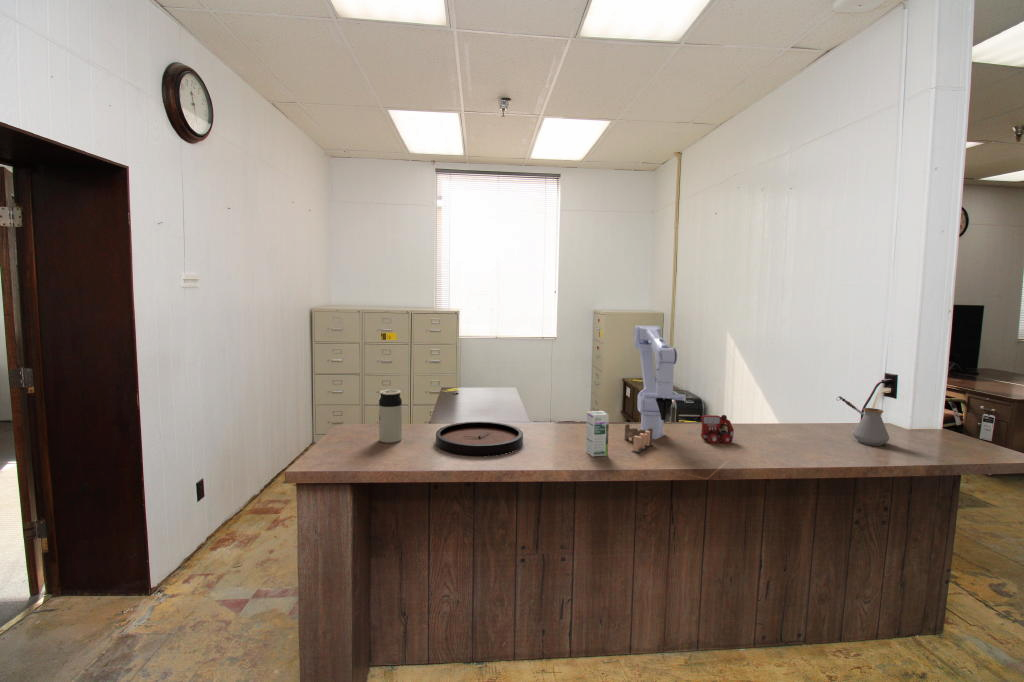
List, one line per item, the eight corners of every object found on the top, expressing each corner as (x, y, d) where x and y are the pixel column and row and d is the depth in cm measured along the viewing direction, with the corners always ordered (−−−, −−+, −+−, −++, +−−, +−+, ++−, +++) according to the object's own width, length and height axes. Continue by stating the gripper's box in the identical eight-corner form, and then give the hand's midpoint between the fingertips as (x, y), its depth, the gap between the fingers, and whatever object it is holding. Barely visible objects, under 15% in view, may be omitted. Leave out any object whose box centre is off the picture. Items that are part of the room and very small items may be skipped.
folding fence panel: (646, 444, 184) (646, 430, 184) (649, 445, 183) (650, 431, 183) (633, 450, 176) (633, 436, 176) (636, 451, 175) (637, 437, 175)
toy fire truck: (737, 445, 188) (739, 417, 187) (704, 445, 188) (706, 417, 186) (728, 439, 195) (729, 413, 194) (696, 439, 194) (698, 412, 193)
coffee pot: (896, 446, 191) (900, 407, 189) (872, 448, 188) (875, 408, 186) (846, 431, 211) (849, 395, 210) (823, 432, 208) (826, 396, 207)
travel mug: (404, 437, 189) (404, 389, 187) (397, 443, 181) (397, 394, 179) (383, 436, 190) (383, 388, 188) (375, 442, 182) (375, 393, 180)
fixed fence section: (625, 439, 191) (626, 423, 191) (652, 444, 185) (653, 428, 184) (623, 440, 190) (624, 424, 190) (650, 445, 184) (651, 429, 183)
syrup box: (592, 457, 171) (593, 414, 170) (585, 451, 177) (586, 410, 175) (607, 456, 172) (609, 414, 171) (600, 450, 178) (601, 409, 177)
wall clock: (462, 451, 163) (421, 428, 188) (462, 463, 163) (421, 439, 189) (540, 437, 180) (493, 417, 206) (540, 448, 181) (493, 427, 206)
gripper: (644, 382, 178) (643, 421, 179) (688, 384, 175) (686, 423, 176) (642, 379, 185) (641, 416, 186) (684, 381, 182) (682, 418, 183)
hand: (663, 419), depth 182 cm, fingers closed
